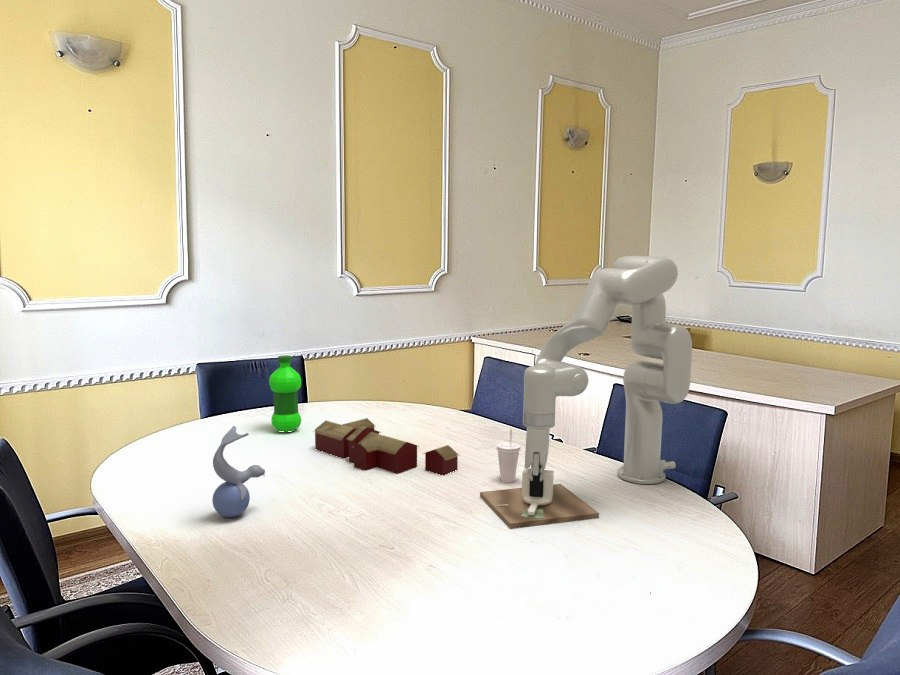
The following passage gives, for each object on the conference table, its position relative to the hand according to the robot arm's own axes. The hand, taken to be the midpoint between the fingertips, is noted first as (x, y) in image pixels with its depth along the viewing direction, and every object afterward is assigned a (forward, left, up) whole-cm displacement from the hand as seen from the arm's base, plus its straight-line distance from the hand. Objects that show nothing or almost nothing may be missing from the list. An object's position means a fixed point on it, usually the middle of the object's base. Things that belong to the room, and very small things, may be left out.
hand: (536, 492), depth 166 cm
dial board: (0, 0, -4) cm, 4 cm away
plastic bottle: (+53, -83, -4) cm, 98 cm away
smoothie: (0, -19, -4) cm, 19 cm away
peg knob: (+2, +3, -2) cm, 4 cm away
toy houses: (+28, -45, -4) cm, 53 cm away
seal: (+68, -15, -4) cm, 70 cm away
